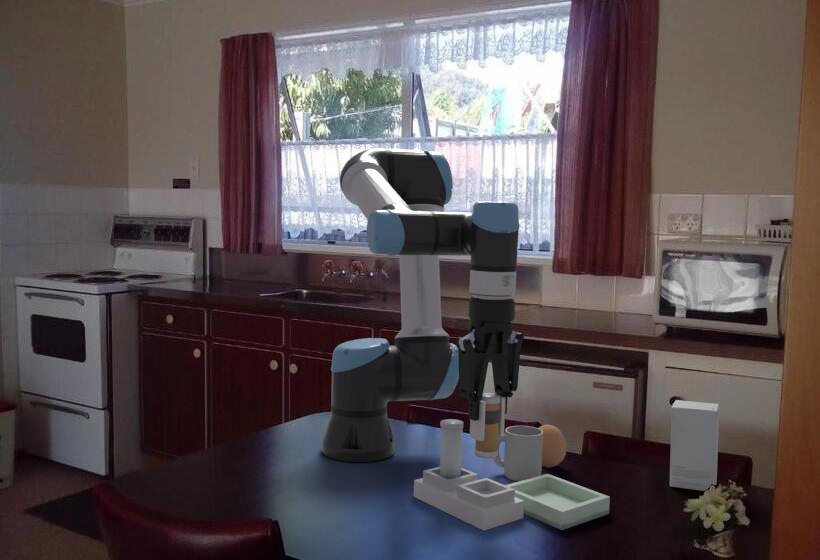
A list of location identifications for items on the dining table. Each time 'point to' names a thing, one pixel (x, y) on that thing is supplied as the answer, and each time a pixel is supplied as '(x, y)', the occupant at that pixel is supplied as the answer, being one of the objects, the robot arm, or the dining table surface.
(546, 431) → the egg
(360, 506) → the dining table surface
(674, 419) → the skincare box
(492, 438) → the cylinder
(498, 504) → the block
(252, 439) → the dining table surface
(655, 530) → the dining table surface
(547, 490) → the parts tray
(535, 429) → the cup
